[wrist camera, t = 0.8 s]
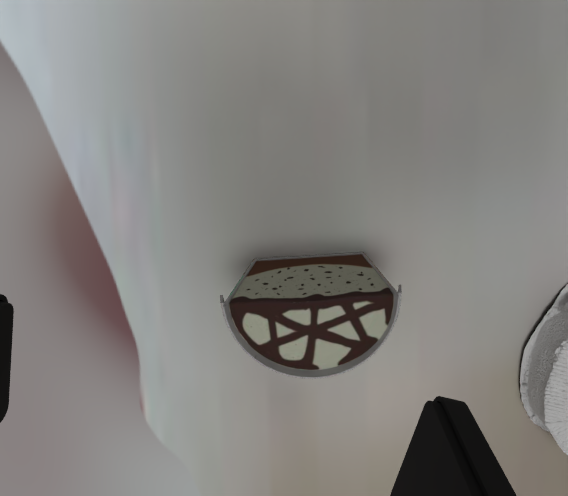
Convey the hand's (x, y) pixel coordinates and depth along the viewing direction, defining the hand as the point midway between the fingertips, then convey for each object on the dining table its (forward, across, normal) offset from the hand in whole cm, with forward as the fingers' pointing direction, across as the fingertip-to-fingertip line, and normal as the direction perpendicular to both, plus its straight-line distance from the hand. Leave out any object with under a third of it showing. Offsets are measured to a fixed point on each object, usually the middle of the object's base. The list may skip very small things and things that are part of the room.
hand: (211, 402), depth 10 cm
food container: (+28, -4, +8) cm, 29 cm away
